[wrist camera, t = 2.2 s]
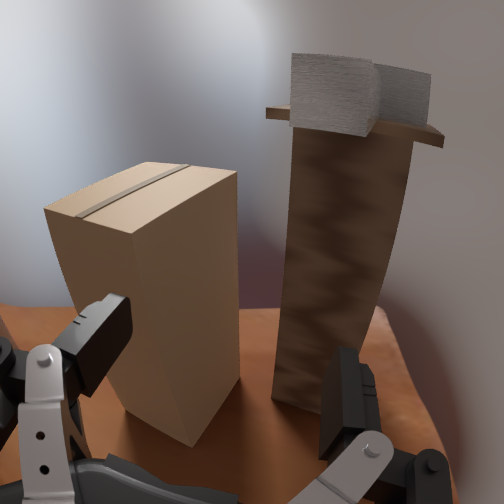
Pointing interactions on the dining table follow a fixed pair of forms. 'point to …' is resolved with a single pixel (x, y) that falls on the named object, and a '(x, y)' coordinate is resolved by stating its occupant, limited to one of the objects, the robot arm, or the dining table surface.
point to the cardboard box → (161, 284)
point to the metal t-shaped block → (354, 94)
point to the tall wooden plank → (337, 244)
